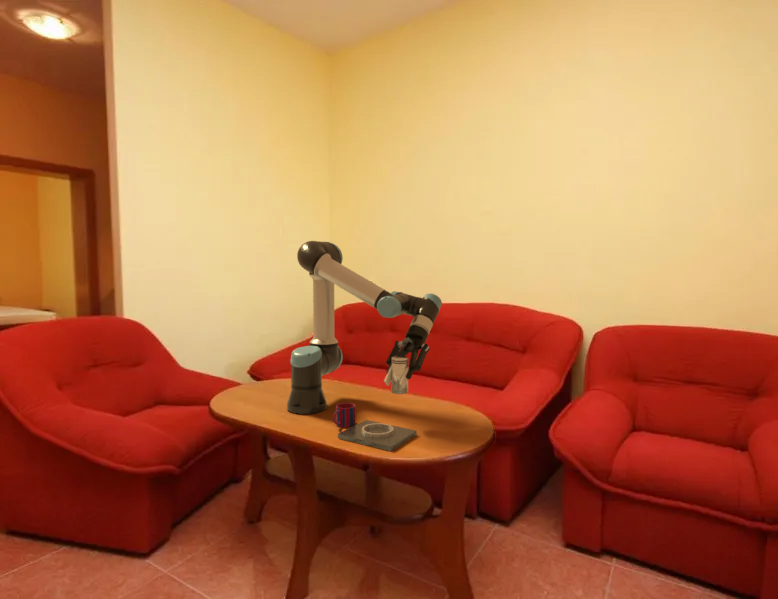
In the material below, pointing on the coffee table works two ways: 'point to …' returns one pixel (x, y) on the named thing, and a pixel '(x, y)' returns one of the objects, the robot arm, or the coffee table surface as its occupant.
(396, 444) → the grey base plate
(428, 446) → the coffee table surface
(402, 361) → the disc
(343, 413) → the mug
